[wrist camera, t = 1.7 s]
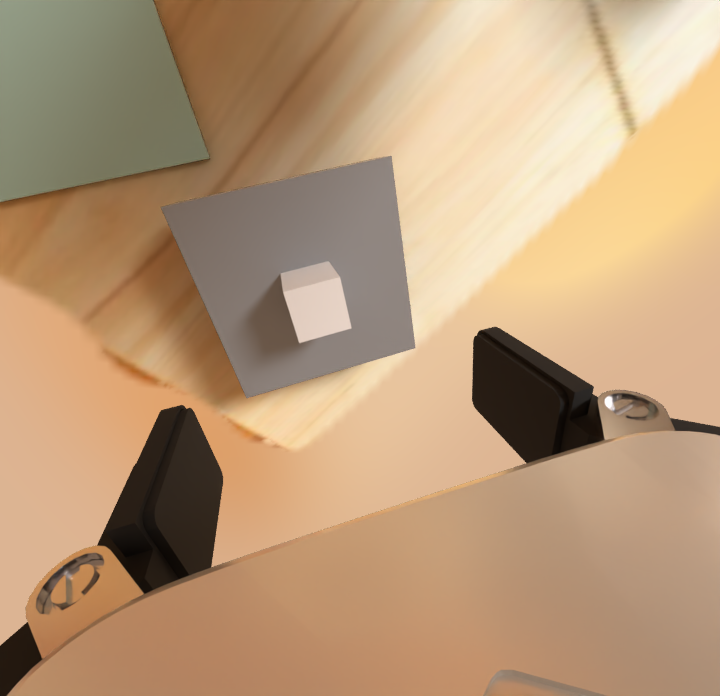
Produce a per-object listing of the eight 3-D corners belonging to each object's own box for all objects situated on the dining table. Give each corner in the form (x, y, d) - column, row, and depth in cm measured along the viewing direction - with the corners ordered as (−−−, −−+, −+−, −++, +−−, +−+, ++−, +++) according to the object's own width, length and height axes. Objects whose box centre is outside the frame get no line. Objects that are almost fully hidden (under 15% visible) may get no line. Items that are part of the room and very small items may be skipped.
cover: (376, 158, 29) (417, 151, 21) (401, 331, 37) (437, 373, 29) (174, 203, 27) (136, 214, 19) (248, 376, 35) (243, 433, 27)
